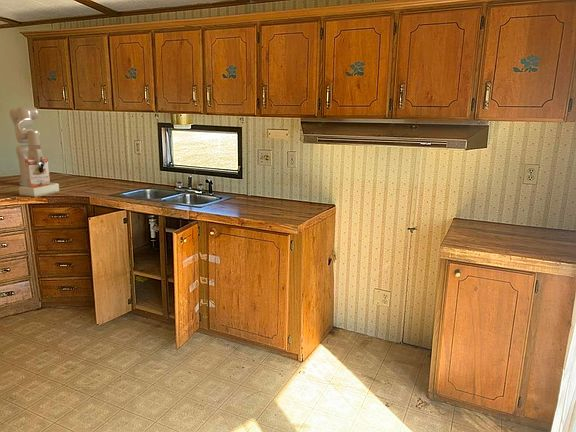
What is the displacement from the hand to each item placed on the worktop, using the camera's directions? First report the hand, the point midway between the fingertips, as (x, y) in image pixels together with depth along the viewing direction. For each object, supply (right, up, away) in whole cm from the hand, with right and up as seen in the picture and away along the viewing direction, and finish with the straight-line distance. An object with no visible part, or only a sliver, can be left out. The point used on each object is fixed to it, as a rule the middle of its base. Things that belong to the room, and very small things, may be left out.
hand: (37, 171), depth 316 cm
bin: (0, -15, +4) cm, 16 cm away
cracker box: (0, -11, +3) cm, 11 cm away
